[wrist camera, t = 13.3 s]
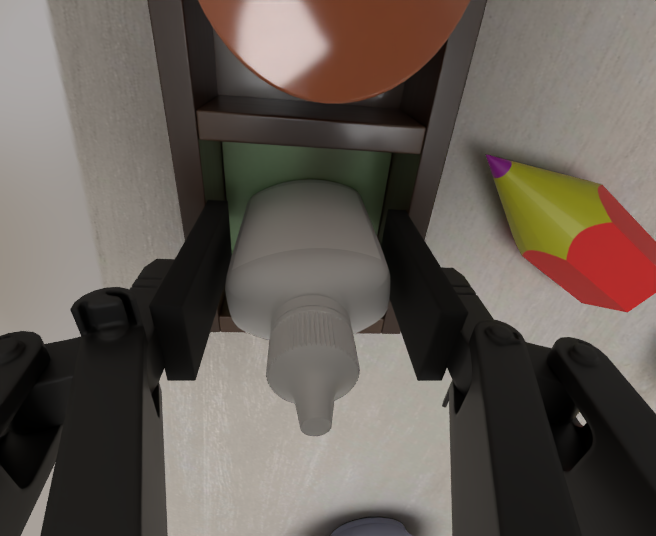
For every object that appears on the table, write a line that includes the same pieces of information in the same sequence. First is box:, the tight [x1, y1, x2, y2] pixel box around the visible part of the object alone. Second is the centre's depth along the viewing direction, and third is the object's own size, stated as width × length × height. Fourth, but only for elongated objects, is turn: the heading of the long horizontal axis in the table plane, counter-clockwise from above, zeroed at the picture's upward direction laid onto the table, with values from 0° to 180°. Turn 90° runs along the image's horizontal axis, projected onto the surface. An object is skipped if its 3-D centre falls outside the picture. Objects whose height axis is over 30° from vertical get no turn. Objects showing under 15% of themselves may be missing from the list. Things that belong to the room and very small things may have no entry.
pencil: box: [485, 154, 656, 312], centre depth 18 cm, size 5×12×4 cm, turn 54°
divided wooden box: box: [148, 0, 487, 334], centre depth 14 cm, size 10×19×5 cm, turn 175°
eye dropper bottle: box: [225, 179, 390, 436], centre depth 13 cm, size 4×6×12 cm
